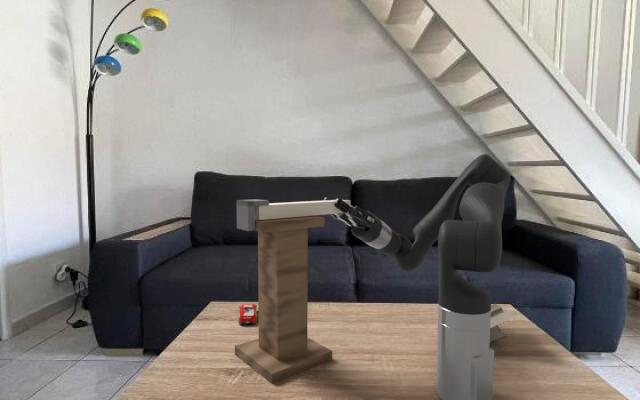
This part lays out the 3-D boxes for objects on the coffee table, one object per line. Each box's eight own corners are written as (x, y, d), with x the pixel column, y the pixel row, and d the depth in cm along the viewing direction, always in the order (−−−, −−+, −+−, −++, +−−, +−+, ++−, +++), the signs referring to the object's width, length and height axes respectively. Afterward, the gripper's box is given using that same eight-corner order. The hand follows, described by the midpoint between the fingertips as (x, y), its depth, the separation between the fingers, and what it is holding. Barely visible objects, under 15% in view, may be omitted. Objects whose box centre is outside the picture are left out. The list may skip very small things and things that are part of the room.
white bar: (351, 220, 97) (351, 196, 96) (248, 231, 78) (247, 201, 78) (338, 218, 100) (338, 195, 100) (236, 228, 82) (236, 200, 82)
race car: (239, 310, 119) (239, 298, 119) (257, 310, 120) (257, 297, 120) (236, 327, 106) (236, 313, 106) (256, 326, 107) (256, 312, 107)
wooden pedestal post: (332, 359, 87) (333, 218, 85) (271, 383, 77) (271, 224, 75) (291, 336, 100) (291, 212, 98) (234, 354, 90) (233, 217, 88)
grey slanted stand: (484, 374, 89) (534, 332, 89) (458, 344, 90) (507, 302, 90) (465, 353, 105) (508, 318, 105) (443, 327, 106) (485, 292, 106)
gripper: (358, 215, 111) (318, 187, 102) (396, 220, 100) (356, 188, 91) (348, 239, 110) (306, 212, 100) (386, 246, 99) (344, 217, 89)
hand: (330, 201), depth 95 cm, fingers closed on white bar, 4 cm apart
